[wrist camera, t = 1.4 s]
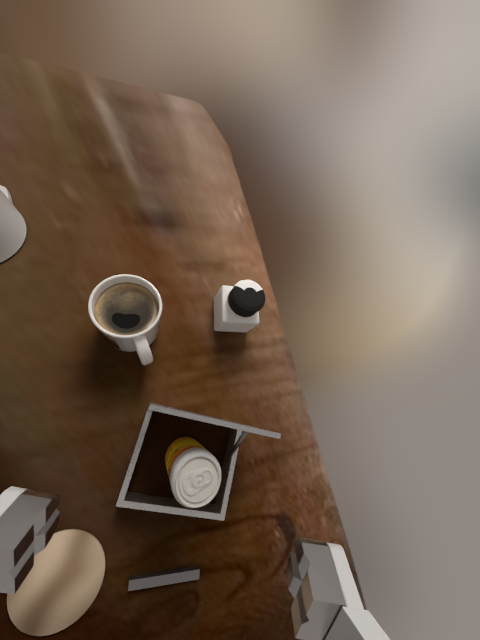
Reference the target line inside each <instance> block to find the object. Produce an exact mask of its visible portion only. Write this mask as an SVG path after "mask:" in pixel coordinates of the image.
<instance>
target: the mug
mask: <svg viewBox="0 0 480 640" xmlns="http://www.w3.org/2000/svg"><path fill="white" fill-rule="evenodd" d="M88 311H89V315H90V318H91V320H92V322H93V323H94V324H95V326H96V327H97V329H98V330H99V331H100V333H101V334H102V335H103V337H104V338H105V339H106V341H107V342H108V343H109V344H110V345H111V346H113V347H114V348H116V349H118V350H122V351H127V352H132V351H137V353H138V356H139V358H140V361H141V363H142V365H144V366H145V365H148V364H150V363H152V362H153V357H152V353H151V350H150V347H149V345H150V344H151V343H152V342H153V341H154V340H155V339H156V337H157V335H158V332H159V328H160V321H161V314H162V300H161V297H160V294H159V292H158V291H157V289H156V288H155V287H154V286H153V285H152V284H151V283H150V282H148V281H147V280H145V279H143V278H141V277H138V276H135V275H128V274H122V275H115V276H112V277H109V278H107V279H105V280H104V281H102V282H101V283H99V284H98V285H97V286H96V287H95V289H94V290H93V291H92V293H91V295H90V298H89V302H88Z"/></svg>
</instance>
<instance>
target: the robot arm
mask: <svg viewBox="0 0 480 640" xmlns="http://www.w3.org/2000/svg"><path fill="white" fill-rule="evenodd" d="M25 237H26V224H25V221H24V219H23V217H22V215H21V214H20V213H19V211H18V210H17V209H16V208H15V207H14V205H13V203H12V198H11V195H10V193H9V191H8V190H7V189H6V188H5V187H3V186H1V185H0V262H3V261H5V260H6V259H8V258H10V257H11V256H12V255H14V254H15V253H16V252H17V251H18V250H19V249H20V247H21V246H22V244H23V242H24V240H25ZM59 504H60V495H54V494H49V493H44V492H39V491H33V490H29V489H24V488H18V487H13V486H11V487H10V488H8V489H7V490H5V491H4V492H3V493H2V494H1V495H0V592H1V593H9V594H15V593H16V592H17V590H18V589H19V587H20V586H21V584H22V583H23V581H24V580H25V578H26V577H27V575H28V574H29V572H30V571H31V569H32V568H33V566H34V556H35V555H36V554H38V553H39V552H41V551H42V550H43V549H45V548H46V546H47V544H48V543H49V541H50V540H51V538H52V536H53V534H54V532H55V530H56V528H57V525H58V522H59V516H60V513H59V511H58V510H57V509H56V508H57V507H58V505H59ZM294 546H295V551H293V552H292V553H290V556H289V559H288V565H287V580H288V588H289V591H290V592H291V594H292V596H293V597H294V602H293V604H292V607H291V611H292V618H293V625H294V632H295V638H298V639H303V640H390V639H389V638H388V636H387V635H386V633H385V632H384V631H383V629H382V628H381V627H380V625H379V624H378V623H377V621H376V620H375V619H374V617H373V616H372V615H371V613H370V612H369V611H367V610H364V608H363V605H362V602H361V599H360V596H359V593H358V591H357V588H356V585H355V582H354V579H353V576H352V573H351V570H350V567H349V564H348V561H347V558H346V555H345V552H344V549H343V548H342V546H341V545H338V544H332V543H326V542H323V541H317V540H310V539H304V538H297V539H296V541H295V543H294Z"/></svg>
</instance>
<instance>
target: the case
mask: <svg viewBox="0 0 480 640" xmlns="http://www.w3.org/2000/svg"><path fill="white" fill-rule="evenodd" d="M153 411H157V412H161V413H166V414H170V415H175V416H179V417H184V418H188V419H193V420H197V421H202V422H206V423H211V424H215V425H220V426H224V427H228V428H230V433H229V438H228V443H227V447H226V452H225V457H224V462H223V466H222V471H221V476H222V477H221V484H220V487H219V489H218V492H217V495H216V499H215V504H210V503H208V504H206V505H204V506H202V507H198V508H188V507H185V506H183V505H181V504H180V503H179V502H178V501H177V500H176V499H175V498H169V497H162V496H155V495H148V494H141V493H134V492H128V491H127V489H128V486H129V483H130V480H131V477H132V474H133V470H134V467H135V464H136V461H137V458H138V455H139V452H140V449H141V446H142V443H143V440H144V436H145V433H146V430H147V427H148V424H149V421H150V418H151V415H152V412H153ZM242 431H243V432H242ZM241 432H242V434H241ZM248 432H251V433H255V434H260V435H264V436H269V437H273V438H278V439H280V436H281V434H280V433H276V432H272V431H268V430H264V429H260V428H257V427H253V426H249V425H245V424H241V423H237V422H233V421H229V420H224V419H220V418H215V417H211V416H207V415H202V414H198V413H194V412H189V411H185V410H181V409H176V408H172V407H168V406H163V405H159V404H155V403H150V404H149V407H148V410H147V413H146V416H145V419H144V422H143V425H142V428H141V431H140V434H139V437H138V440H137V443H136V446H135V449H134V452H133V455H132V458H131V461H130V464H129V467H128V470H127V473H126V476H125V479H124V482H123V485H122V489H121V492H120V495H119V498H118V501H117V504H116V507H124V508H131V509H139V510H146V511H154V512H161V513H169V514H177V515H184V516H192V517H199V518H207V519H215V520H222V521H224V519H225V514H226V509H227V504H228V499H229V494H230V488H231V483H232V478H233V473H234V468H235V463H236V458H237V453H238V448H239V445H240V444H241V442H242V441H243V439H244V438H245V436H246V435H247V433H248Z"/></svg>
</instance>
